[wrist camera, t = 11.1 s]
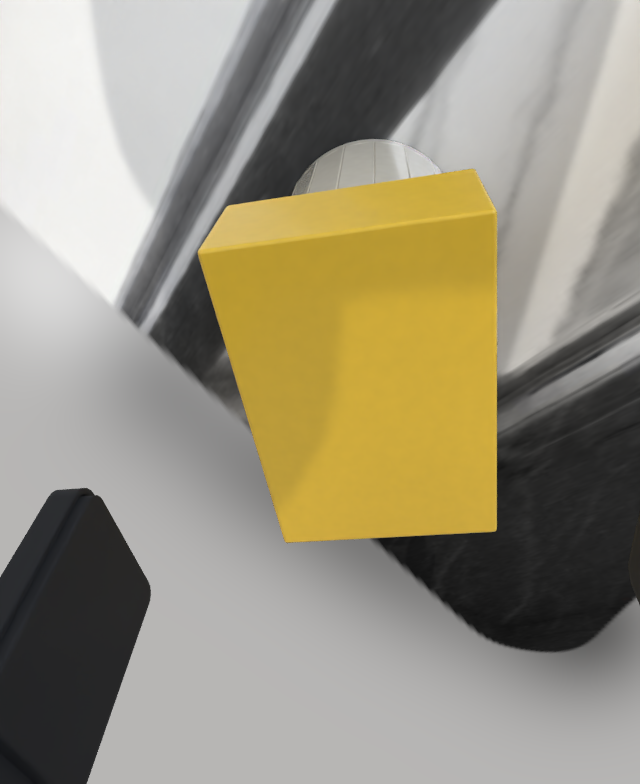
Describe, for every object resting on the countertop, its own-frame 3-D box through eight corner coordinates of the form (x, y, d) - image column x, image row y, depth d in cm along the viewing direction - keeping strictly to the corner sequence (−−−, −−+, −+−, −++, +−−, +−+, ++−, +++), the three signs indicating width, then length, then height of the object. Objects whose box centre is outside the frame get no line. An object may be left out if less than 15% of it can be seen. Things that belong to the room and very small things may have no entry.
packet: (225, 205, 14) (195, 251, 12) (475, 166, 13) (497, 209, 11) (295, 472, 19) (284, 544, 17) (481, 459, 18) (497, 532, 16)
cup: (268, 154, 22) (216, 241, 15) (455, 123, 21) (498, 202, 14) (302, 316, 26) (274, 448, 19) (462, 298, 25) (497, 430, 18)
